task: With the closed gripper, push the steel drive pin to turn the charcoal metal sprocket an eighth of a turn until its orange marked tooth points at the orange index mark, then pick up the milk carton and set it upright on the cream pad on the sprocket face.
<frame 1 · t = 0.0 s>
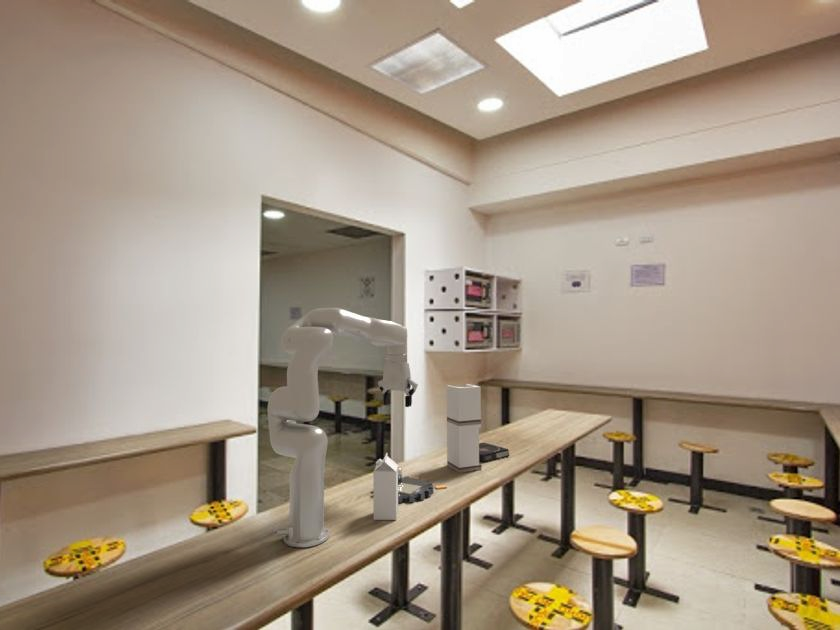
hand: (397, 405, 168), 31 cm above the table, tool pointing down, fingers open, 9 cm apart
milk carton: (386, 516, 144), on the table
index mark: (440, 487, 170), on the table
banded white pillar: (464, 468, 195), on the table
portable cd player: (483, 457, 214), on the table
sprocket: (403, 482, 166), point 3 cm above the table, hinge at 0.0°
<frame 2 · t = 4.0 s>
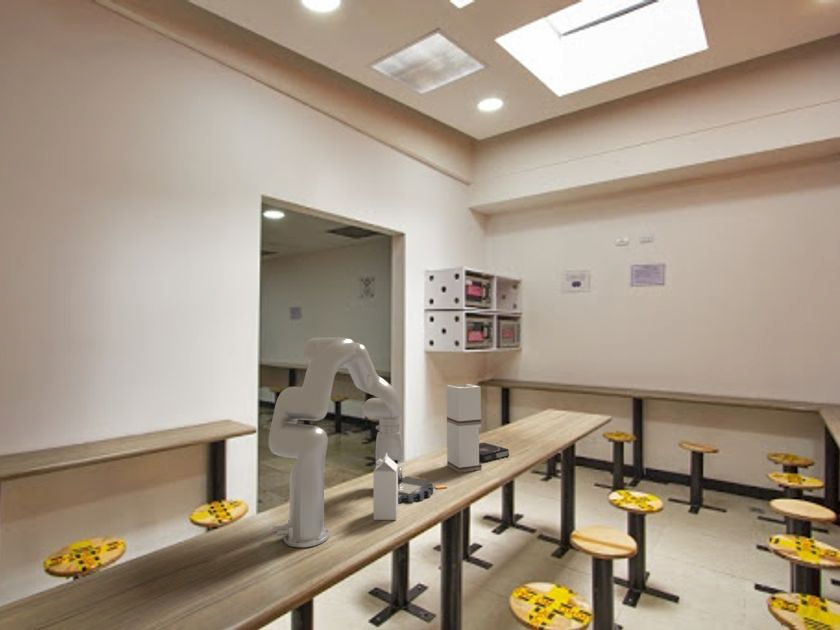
hand: (389, 477, 173), 3 cm above the table, tool pointing down, fingers closed
sprocket: (403, 482, 166), point 3 cm above the table, hinge at -1.7°, touching gripper
everything else where it was.
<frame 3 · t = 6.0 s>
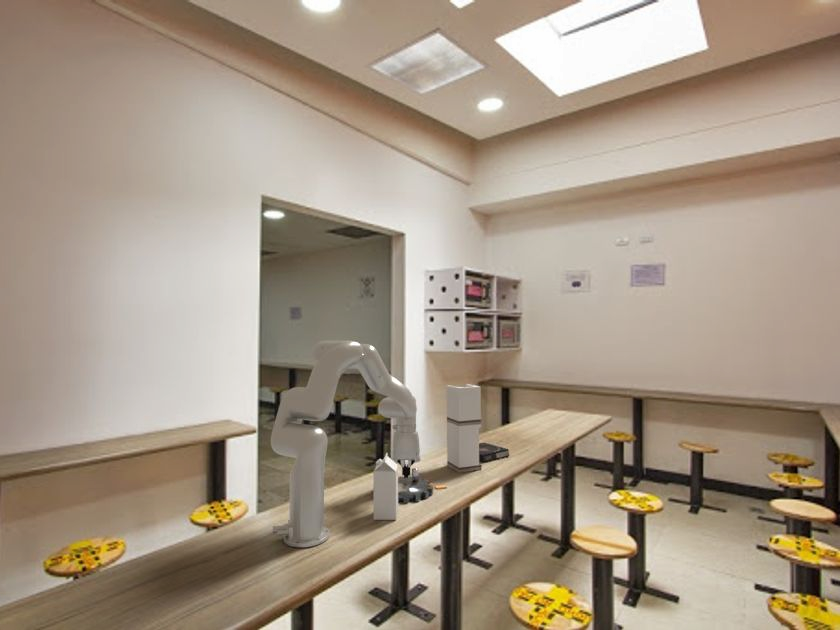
hand: (406, 477, 172), 3 cm above the table, tool pointing down, fingers closed
sprocket: (403, 482, 166), point 3 cm above the table, hinge at -55.5°, touching gripper
everything else where it was.
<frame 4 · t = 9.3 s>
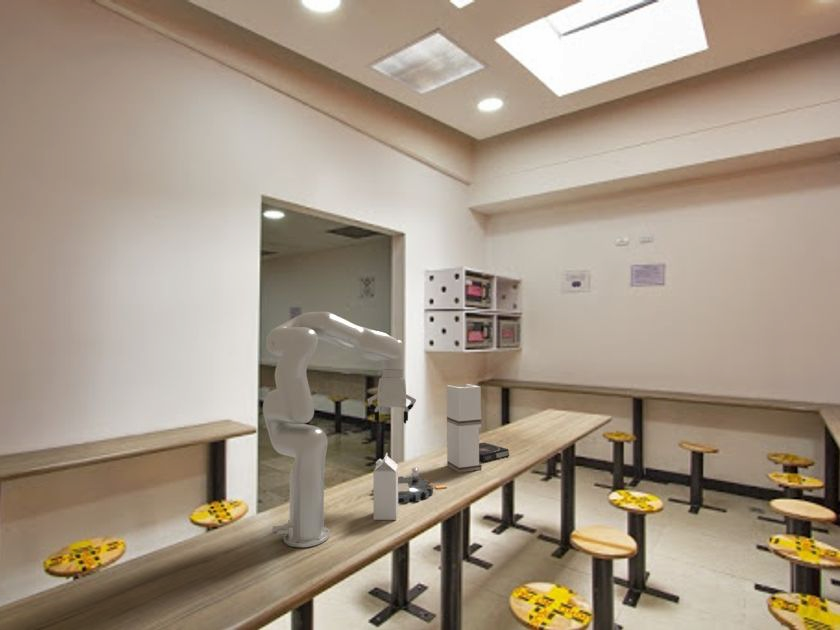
hand: (391, 423, 161), 26 cm above the table, tool pointing down, fingers open, 9 cm apart
sprocket: (403, 482, 166), point 3 cm above the table, hinge at -55.5°
everything else where it was.
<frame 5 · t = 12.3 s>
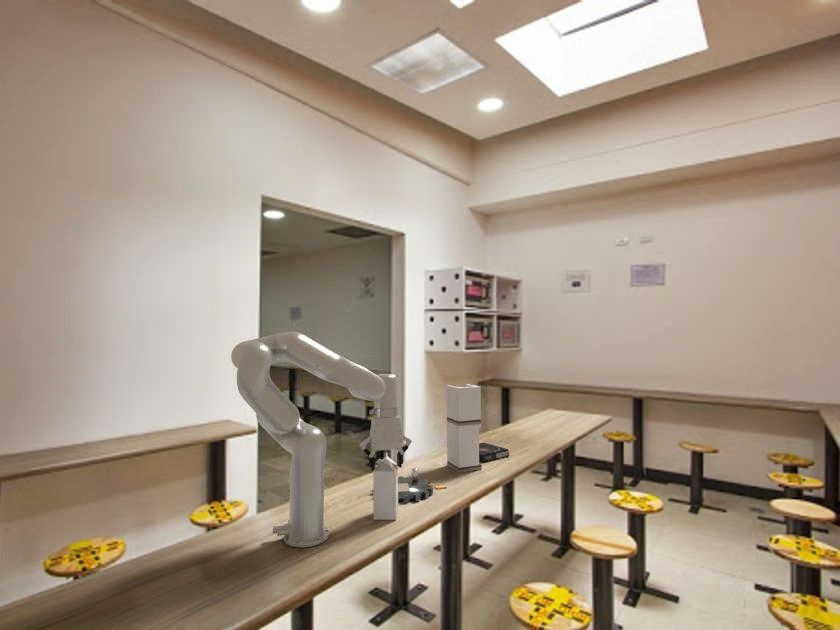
hand: (386, 467, 145), 15 cm above the table, tool pointing down, fingers closed on milk carton, 8 cm apart
milk carton: (386, 516, 144), on the table, touching gripper
everything else where it was.
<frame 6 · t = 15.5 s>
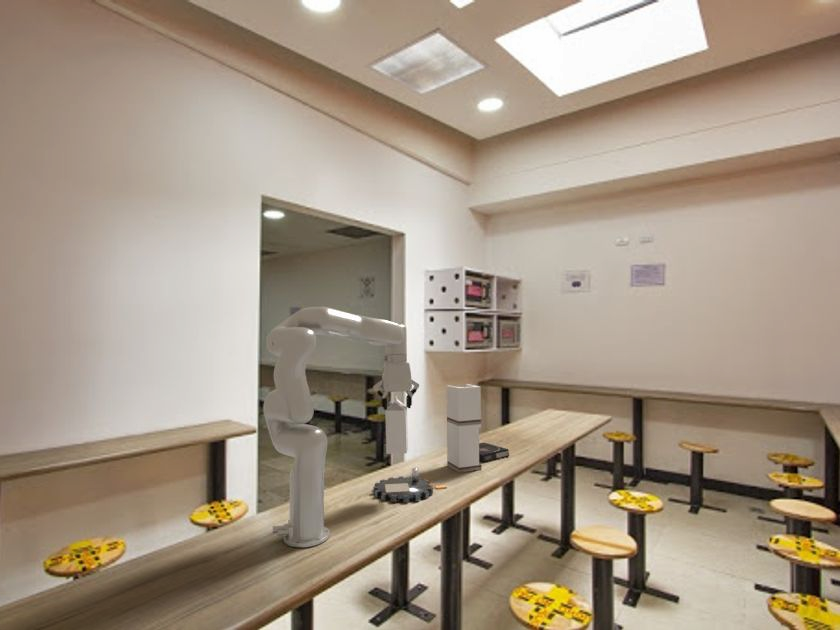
hand: (396, 408, 161), 31 cm above the table, tool pointing down, fingers closed on milk carton, 8 cm apart
milk carton: (397, 452, 161), point 16 cm above the table, touching gripper
everything else where it was.
when the fingers open (19 cm above the table, at t = 18.6 s): milk carton stays where it is, resting on sprocket.
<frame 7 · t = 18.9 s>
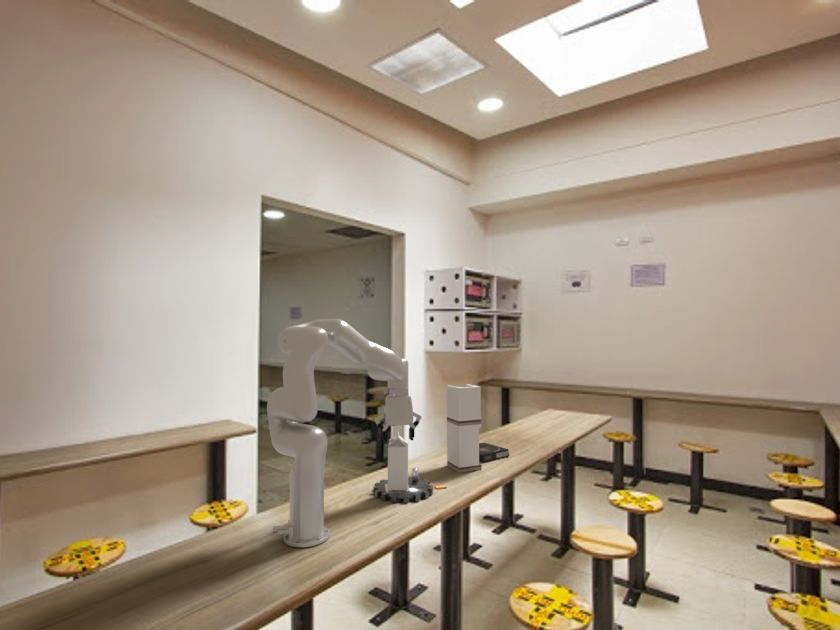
hand: (398, 440, 163), 19 cm above the table, tool pointing down, fingers open, 9 cm apart
milk carton: (397, 488, 162), point 3 cm above the table, touching sprocket
sprocket: (403, 482, 166), point 3 cm above the table, hinge at -55.5°, touching milk carton
everything else where it was.
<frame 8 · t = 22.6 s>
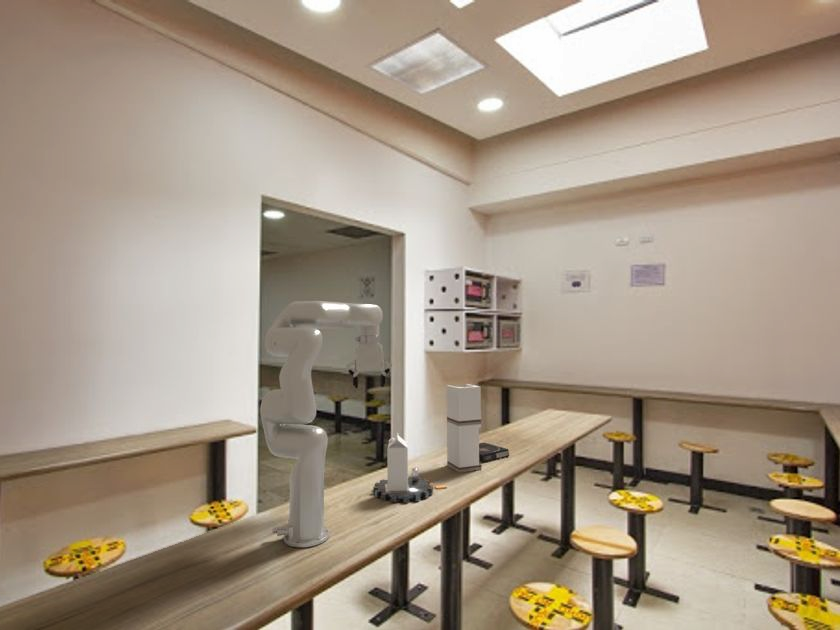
hand: (369, 387, 166), 38 cm above the table, tool pointing down, fingers open, 9 cm apart
nothing on the table moved.
at the end: sprocket at -56° (first picture: +0°); milk carton 0.2 cm from the target spot on the sprocket, point 2.4 cm above the sprocket's base; milk carton tilted 0° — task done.
